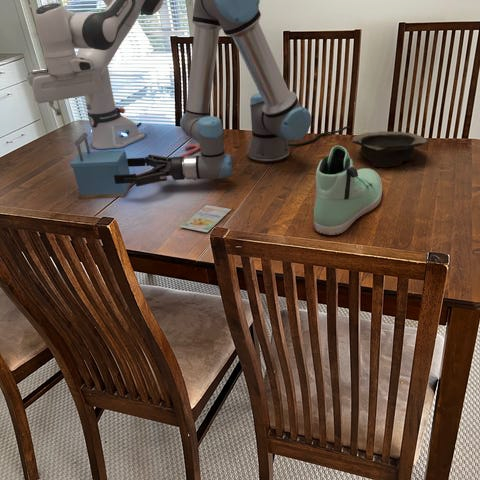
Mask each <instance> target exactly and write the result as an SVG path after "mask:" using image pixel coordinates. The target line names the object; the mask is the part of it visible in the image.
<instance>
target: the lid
mask: <svg viewBox="0 0 480 480" xmlns="http://www.w3.org/2000/svg"><path fill="white" fill-rule="evenodd" d="M83 142H84V145H85V148H86V151H82V149H81V146H80V145H81V144H82V143H83ZM73 144H74V145H75V146H76V149H77V152H78V155H77V156H75V158H73V159H72V161H71V162H70V163H69V165H70V168H73V167H86V166H108V165H118V164H119V162H120V161H121V160H122V158H123V157H124V155H125V154H126V153H127V152H126V149H119V150H118V149H117V150H97V151H95V150H94V151H91V150H90V146H89V141H88V133H87V132H83V133H82V134H81V135H80V136H79V137H77V138H76V140H75V141H74V142H73ZM126 155H127V154H126Z"/></svg>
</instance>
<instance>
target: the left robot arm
mask: <svg viewBox="0 0 480 480" xmlns="http://www.w3.org/2000/svg"><path fill="white" fill-rule="evenodd" d="M102 1H103V3H104V4H105V6H106V8H105V9H104V10H103V11H98V12H82V13H81V12H80V13H79V12H77V13H76V12H74V11H70V10H68V9H66V8H65V7H63V5H62V4H61V3H57V2H53V3H52V2H51V3H48V4H44V5H41V6H39V7H38V8H37V9H35V13H34V20H35V27H36V31H37V32H36V33H37V35H38V39H39V43H40V44H41V46H42V49H43V58H44V62H45V65H46V67H44V68H39V69H32V70H31V71H30V72H28V73H27V76H26V77H27V81H28V84H29V85H30V86H31V87H32V92H33V97H34V101H35V102H36V103H38V104H44V103H48V105H49V107H50V108H51V109H52V110H53V111H54V113H55V116H56V117H59V116H62V112H61V109H60V107H56V106H55V102H56V101H62V100H68V99H75V98H81V97H84V100H85V106H86V111H87V118H88V122H89V125H90V127H91V128H90V129H91V130H90V133H91V137H92V138H91V140H92V141H91V147H92V148H94V149H98V150H107V149H121V148H122V149H123V148H124V147H127V146H128V145H131V144H132V143H135V142H137V141H139V140H141V139H143V138H145V137H146V135H145V133H144V132H142V131H140V130H139V129H138V127H140V125H142V122H141V121H140V122H138V124H136V123H135V122H134V121H133V120H131V119H129V118H127V117H125V116H123V115H122V114H125V112H126V109H125V108H124V107H123V108H122V107H117V106H116V103H115V97H114V94H113V88H112V83H111V76H110V70H109V65H110V63H111V62H112V60H113V58H114V57H115V55H116V53H117V51H118V50H119V48H120V46H121V45H122V43H123V42H124V40H125V39H126V37H127V36H128V34H129V33H130V32H131V30H132V28H133V27H134V25H135V23H136V22H137V21H138V19H139V16H148V17H149V16H153V15H155V14H157V13H158V12H159V11H160V9H161V8H162V6H163V4H164V0H102ZM75 49H78V50H77V52H76V50H75Z"/></svg>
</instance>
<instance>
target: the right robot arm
mask: <svg viewBox="0 0 480 480" xmlns="http://www.w3.org/2000/svg"><path fill="white" fill-rule="evenodd" d="M260 3H261V0H194V3H193V4H194V5H193V11H192V20H191V23H192V25H194V32H193V42H192V52H191V61H190V70H189V79H188V87H187V99H186V106H185V107H186V108H185V113H184V114H183V115H182V116H181V118H180V121H179V125H180V128H181V130H182V131H183V132H184V133H185V135H186V136H188V137H190V138H192V139H193V140H194V141H195V142H197V143H198V144H199V146H200V149H199V150H200V155H189V156H185V157H182V156H181V155H179V156H170V157H169V156H168V157H167V156H162V155H155V154H154V155H153V154H148V155H147V156H145V157H130V158H128V157H127V162H128V167H129V168H134V167H151V168H152V169H151V170H147V171H145V172H141V173H139V174H136V173H130V174H126V175H114V179H115V184H123V183H132V184H134V185H135V187H142V186H146V185H150V184H151V185H152V184H155V183H158V182H166V181H168V178H167V177H170V176H171V177H172V180H174V181H183V180H185V179H186V180H194V181H196V180H206V179H208V180H209V179H210V180H211V179H218V180H219V179H226V178H227V179H228V178H231V177H232V176H233V159H232V155H231V154H229V153H226V151H225V146H224V145H225V144H224V128H223V124H222V119H220V117H218V116H214V115H209V114H210V105H211V97H212V89H213V82H214V76H215V75H214V74H215V67H216V60H217V52H218V45H219V37H220V31H221V30H222V31H223V33H224V35H225V36H228V37H230V38H232V40H233V42H234V44H235V46H236V48H237V50H238V52H239V54H240V56H241V58H242V59H243V62H244V64H245V66H246V68H247V70H248V72H249V74H250V76H251V78H252V80H253V82H254V85H255V86H256V89H257V91H258V93H255V94H252V95H251V96H250V102H249V103H250V104H249V107H250V119H251V122H250V123H251V139H250V143H249V147H248V159H249V160H251V161H253V162H255V163H261V164H271V163H279V162H282V161H284V160H286V159H288V158H289V157H290V155H291V154H290V153H291V152H290V151H291V150H290V147H299V146H303V145H307V144H310V143H312V142H314V141H316V140H317V139H318V138H319V137H322V136H325V135H333V134H339V133H342V132H343V131H345V130H352V127H350V126H349V125H347V126H346V125H345V126H344V127H342V128H340V129H338V130H332V131H325V132H320V133H319V134H316V136H315V137H313V138H312V139H309V140H306V141H302V142H298V141H300V140H302V139H303V138H305V136H306V135H307V134H308V133H309V130H310V127H311V125H312V114H311V113H310V111H309V110H308V109H307V108H305V107H304V106H302V105H301V103H300V101H299V98H298V96H297V94H296V93H295V92H294V91H292V90H289V88H288V86H287V83H286V80H285V79H284V76H283V75H282V72H281V70H280V67H279V66H278V63H277V61H276V59H275V56H274V54H273V51H272V50H271V47H270V44H269V42H268V41H267V38H266V36H265V33H264V32H263V29H262V27H261V25H260V20H261V16H262V13H261V11H260V9H259V8H260V7H259V6H260ZM288 142H290V143H288ZM296 142H297V143H296Z"/></svg>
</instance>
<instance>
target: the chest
mask: <svg viewBox="0 0 480 480" xmlns="http://www.w3.org/2000/svg"><path fill="white" fill-rule="evenodd" d="M127 159H128V157H127V154H125V155H124V157H123V158H122V160H121V161H120V162H119V164H118V165H108V166H86V167H72V170H73V174H74V177H75V182H76V185H77V188H78V192H79V193H78V194H79V196H80V199H92V198H93V199H94V198H120V197H122V198H123V197H126V195H127V193H128V191H129V190H130V188H131V186H132V184H133V183H123V184H115V179H114V175H126V174H131V172H130V167H128V162H127Z"/></svg>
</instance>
